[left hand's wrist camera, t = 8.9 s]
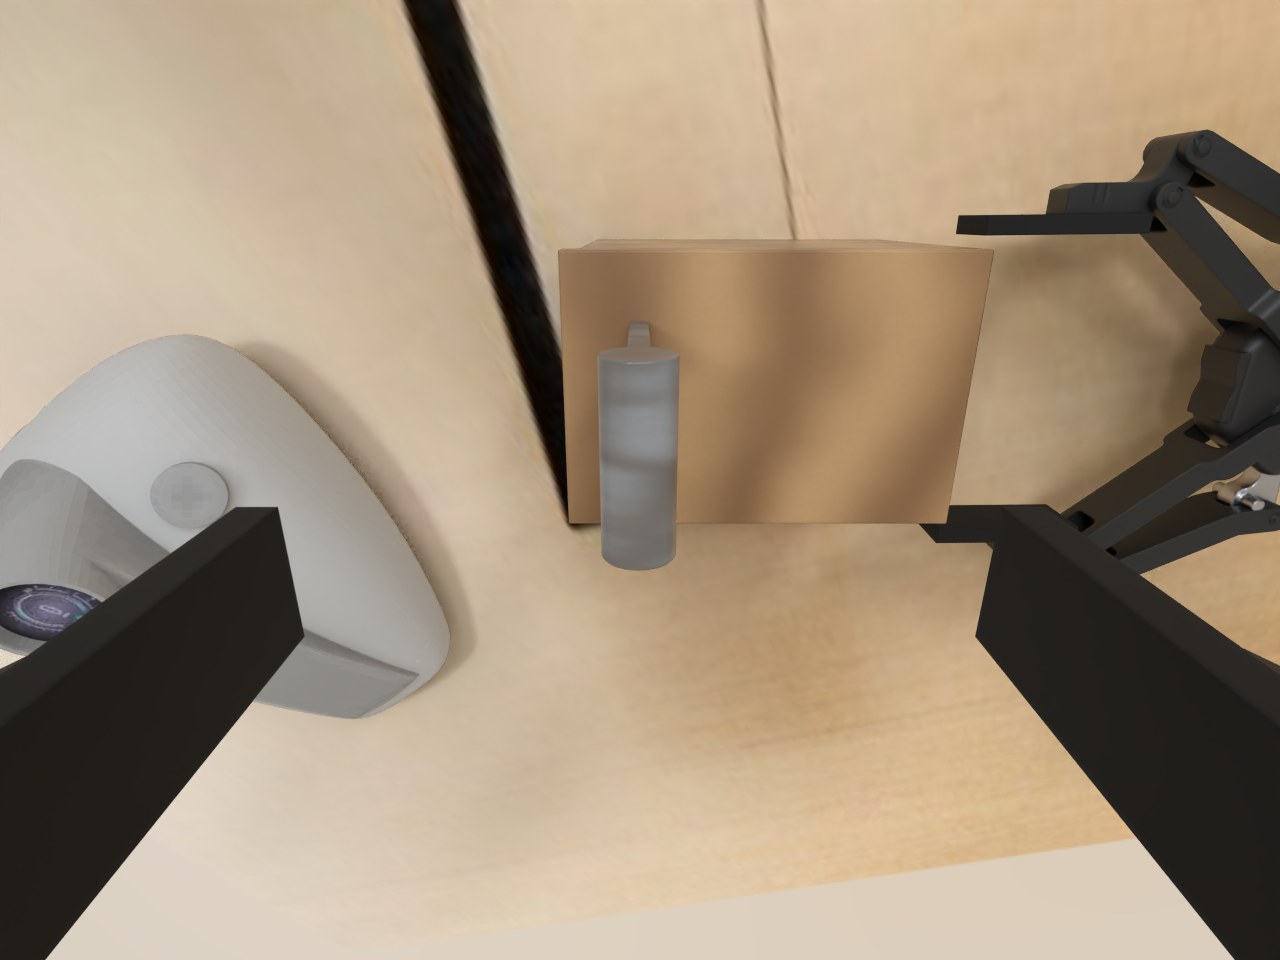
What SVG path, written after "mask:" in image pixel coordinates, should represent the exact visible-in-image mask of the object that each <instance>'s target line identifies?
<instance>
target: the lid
mask: <svg viewBox="0 0 1280 960" xmlns="http://www.w3.org/2000/svg"><path fill="white" fill-rule="evenodd" d="M993 254H994V251H993V250H989V249H561V250H559V251H558V261H559V286H560V310H561V335H562V360H563V384H564V409H565V434H566V459H567V483H568V508H569V522H570V523H601V546H602V556H603V558H604V559H605V561H606V562H608V563H609V564H611V565H613V566H615V567H618V568H622V569H627V570H650V569H655V568H659V567H662V566H664V565H666V564H668V563H669V562H671V561H672V560H673V558H674V556H675V554H676V523H946V521H947V515H948V510H949V504H950V498H951V493H952V487H953V481H954V476H955V470H956V464H957V459H958V453H959V447H960V442H961V436H962V430H963V425H964V419H965V413H966V407H967V402H968V396H969V390H970V385H971V379H972V373H973V368H974V362H975V356H976V351H977V345H978V339H979V334H980V328H981V322H982V317H983V311H984V305H985V300H986V294H987V288H988V282H989V277H990V271H991V265H992V260H993Z"/></svg>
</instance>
